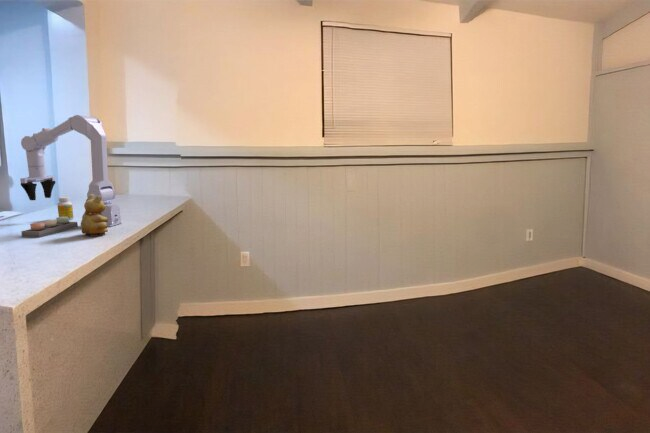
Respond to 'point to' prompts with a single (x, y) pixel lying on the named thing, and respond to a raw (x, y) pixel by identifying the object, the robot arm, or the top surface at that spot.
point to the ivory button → (50, 223)
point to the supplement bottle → (65, 208)
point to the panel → (49, 230)
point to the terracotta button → (37, 226)
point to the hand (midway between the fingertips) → (40, 199)
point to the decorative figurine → (94, 217)
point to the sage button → (62, 220)
